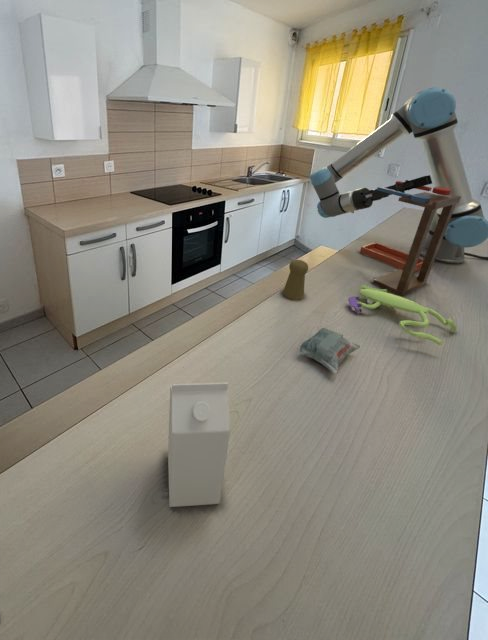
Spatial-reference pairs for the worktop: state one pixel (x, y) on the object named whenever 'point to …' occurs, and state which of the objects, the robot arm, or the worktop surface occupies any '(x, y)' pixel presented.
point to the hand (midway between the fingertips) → (428, 179)
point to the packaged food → (328, 348)
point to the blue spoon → (407, 195)
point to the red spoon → (435, 190)
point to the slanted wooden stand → (420, 246)
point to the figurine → (401, 304)
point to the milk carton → (197, 443)
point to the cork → (296, 280)
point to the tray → (388, 255)
